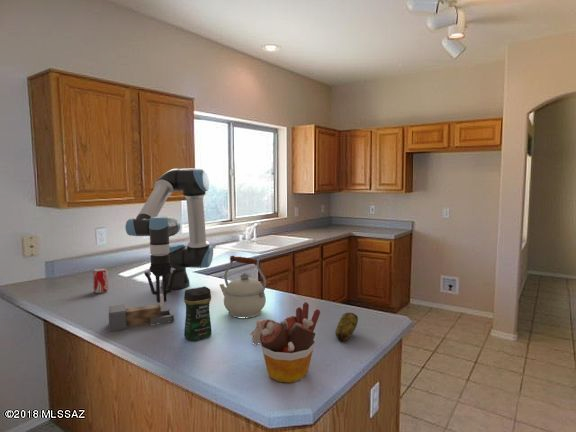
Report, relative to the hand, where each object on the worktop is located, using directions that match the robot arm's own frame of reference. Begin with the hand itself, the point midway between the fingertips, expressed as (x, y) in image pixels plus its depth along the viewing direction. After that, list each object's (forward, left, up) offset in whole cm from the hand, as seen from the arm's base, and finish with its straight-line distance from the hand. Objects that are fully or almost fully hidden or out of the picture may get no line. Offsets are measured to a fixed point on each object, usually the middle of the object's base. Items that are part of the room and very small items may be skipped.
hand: (161, 309), depth 157 cm
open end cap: (+1, 0, -4) cm, 4 cm away
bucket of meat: (-29, +62, -5) cm, 69 cm away
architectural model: (-29, +38, -5) cm, 48 cm away
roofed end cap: (+17, 0, -4) cm, 18 cm away
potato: (-60, +47, -5) cm, 76 cm away
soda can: (+24, -55, -5) cm, 60 cm away
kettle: (-33, +6, -5) cm, 34 cm away
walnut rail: (+8, 0, -4) cm, 9 cm away
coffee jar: (-10, +24, -5) cm, 26 cm away
